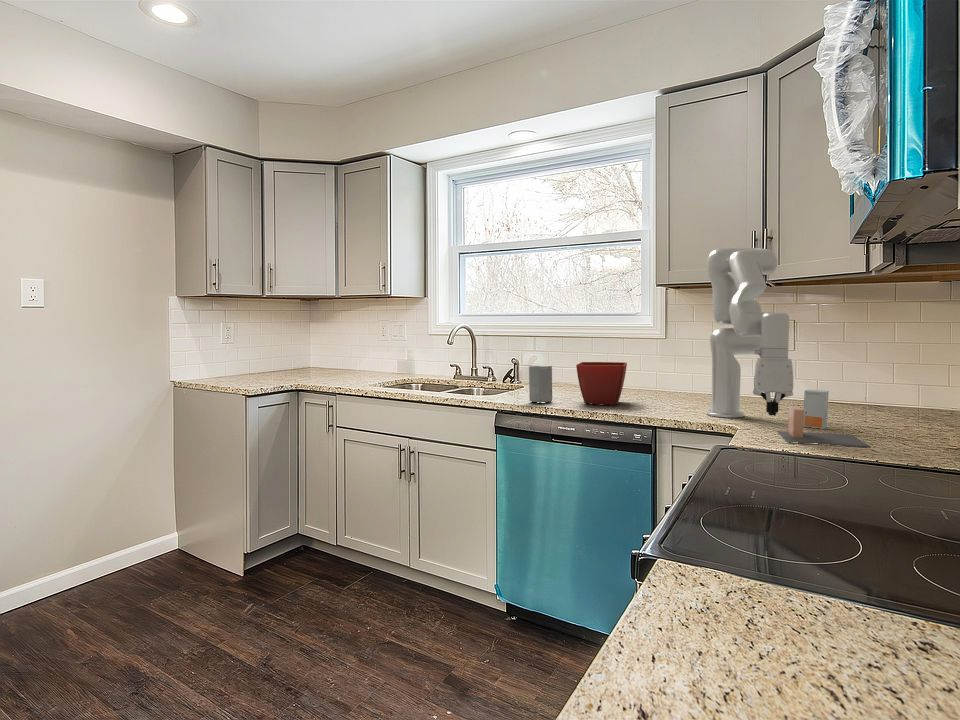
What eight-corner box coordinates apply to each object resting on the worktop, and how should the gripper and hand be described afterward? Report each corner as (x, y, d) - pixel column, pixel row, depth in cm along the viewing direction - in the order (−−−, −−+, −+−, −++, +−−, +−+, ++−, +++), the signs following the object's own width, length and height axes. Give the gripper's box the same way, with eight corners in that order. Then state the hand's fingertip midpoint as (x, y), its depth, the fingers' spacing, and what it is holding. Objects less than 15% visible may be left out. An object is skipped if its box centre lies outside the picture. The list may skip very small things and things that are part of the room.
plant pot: (581, 399, 248) (582, 361, 247) (626, 401, 242) (627, 362, 241) (575, 405, 230) (575, 364, 229) (623, 407, 224) (624, 365, 223)
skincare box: (802, 427, 182) (803, 390, 181) (806, 425, 185) (807, 389, 184) (823, 429, 177) (825, 392, 176) (827, 427, 180) (829, 390, 179)
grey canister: (540, 404, 234) (540, 366, 233) (527, 402, 239) (527, 365, 238) (553, 402, 239) (553, 365, 238) (540, 400, 245) (541, 364, 243)
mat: (777, 432, 174) (777, 431, 174) (851, 436, 167) (851, 434, 167) (787, 443, 158) (787, 441, 158) (870, 447, 152) (870, 446, 152)
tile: (788, 432, 171) (789, 406, 171) (797, 432, 170) (798, 406, 170) (793, 437, 165) (794, 409, 164) (802, 437, 164) (803, 410, 163)
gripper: (748, 354, 167) (746, 415, 168) (805, 355, 162) (802, 418, 163) (744, 353, 174) (743, 411, 175) (799, 353, 169) (797, 414, 170)
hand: (772, 414), depth 169 cm, fingers closed
